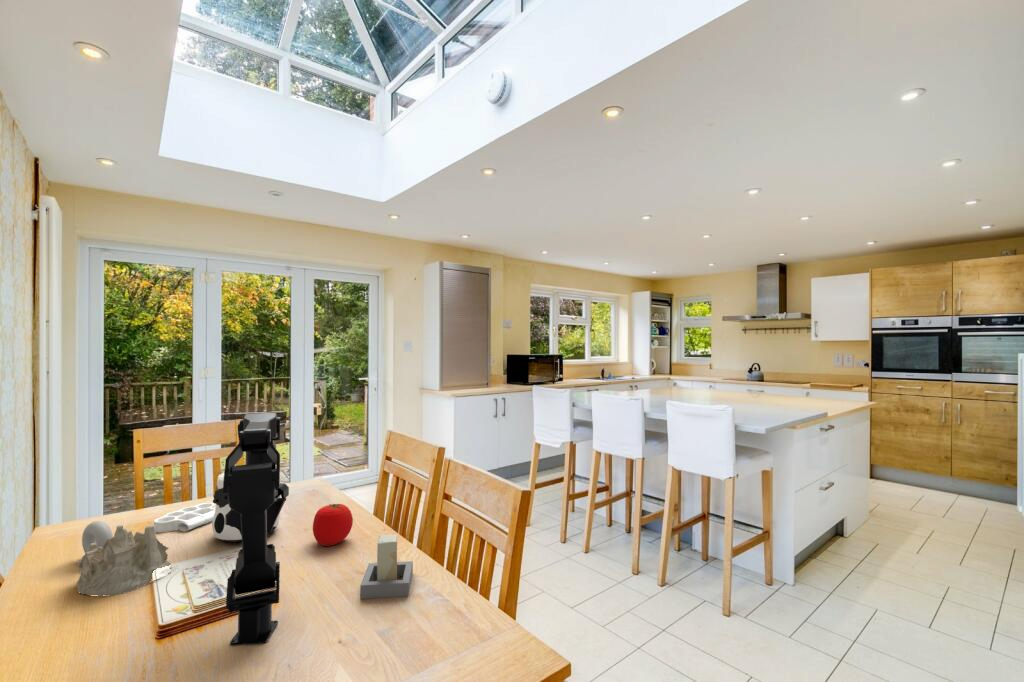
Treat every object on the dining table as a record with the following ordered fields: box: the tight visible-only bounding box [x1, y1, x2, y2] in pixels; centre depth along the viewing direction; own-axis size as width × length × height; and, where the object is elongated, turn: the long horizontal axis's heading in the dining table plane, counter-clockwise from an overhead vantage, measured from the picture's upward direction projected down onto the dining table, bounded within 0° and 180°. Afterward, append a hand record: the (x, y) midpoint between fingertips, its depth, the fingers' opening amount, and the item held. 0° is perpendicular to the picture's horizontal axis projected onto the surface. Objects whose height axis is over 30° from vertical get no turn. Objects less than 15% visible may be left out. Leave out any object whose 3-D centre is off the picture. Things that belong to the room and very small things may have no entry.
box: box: [376, 533, 398, 581], centre depth 110 cm, size 5×4×11 cm
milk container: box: [211, 472, 281, 543], centre depth 138 cm, size 17×17×18 cm
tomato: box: [312, 503, 354, 547], centre depth 133 cm, size 10×11×11 cm
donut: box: [81, 520, 114, 555], centre depth 121 cm, size 10×4×10 cm, turn 66°
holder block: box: [359, 560, 414, 600], centre depth 110 cm, size 10×10×3 cm
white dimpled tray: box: [153, 502, 216, 533], centre depth 147 cm, size 3×18×15 cm
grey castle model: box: [76, 524, 172, 597], centre depth 112 cm, size 16×16×15 cm
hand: (259, 542), depth 102 cm, fingers open, 9 cm apart
